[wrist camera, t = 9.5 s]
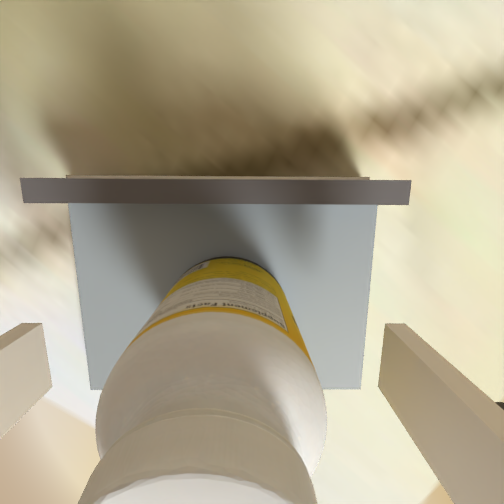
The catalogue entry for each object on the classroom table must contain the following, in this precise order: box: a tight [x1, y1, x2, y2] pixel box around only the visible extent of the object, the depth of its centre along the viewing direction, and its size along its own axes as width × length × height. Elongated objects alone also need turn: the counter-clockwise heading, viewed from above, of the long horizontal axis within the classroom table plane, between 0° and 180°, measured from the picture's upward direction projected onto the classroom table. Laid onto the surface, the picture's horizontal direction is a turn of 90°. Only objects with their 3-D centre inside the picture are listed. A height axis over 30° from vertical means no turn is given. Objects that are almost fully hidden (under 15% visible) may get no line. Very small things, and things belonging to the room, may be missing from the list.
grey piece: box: [20, 175, 411, 390], centre depth 16 cm, size 12×16×5 cm
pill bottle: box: [78, 256, 327, 504], centre depth 11 cm, size 6×6×12 cm
